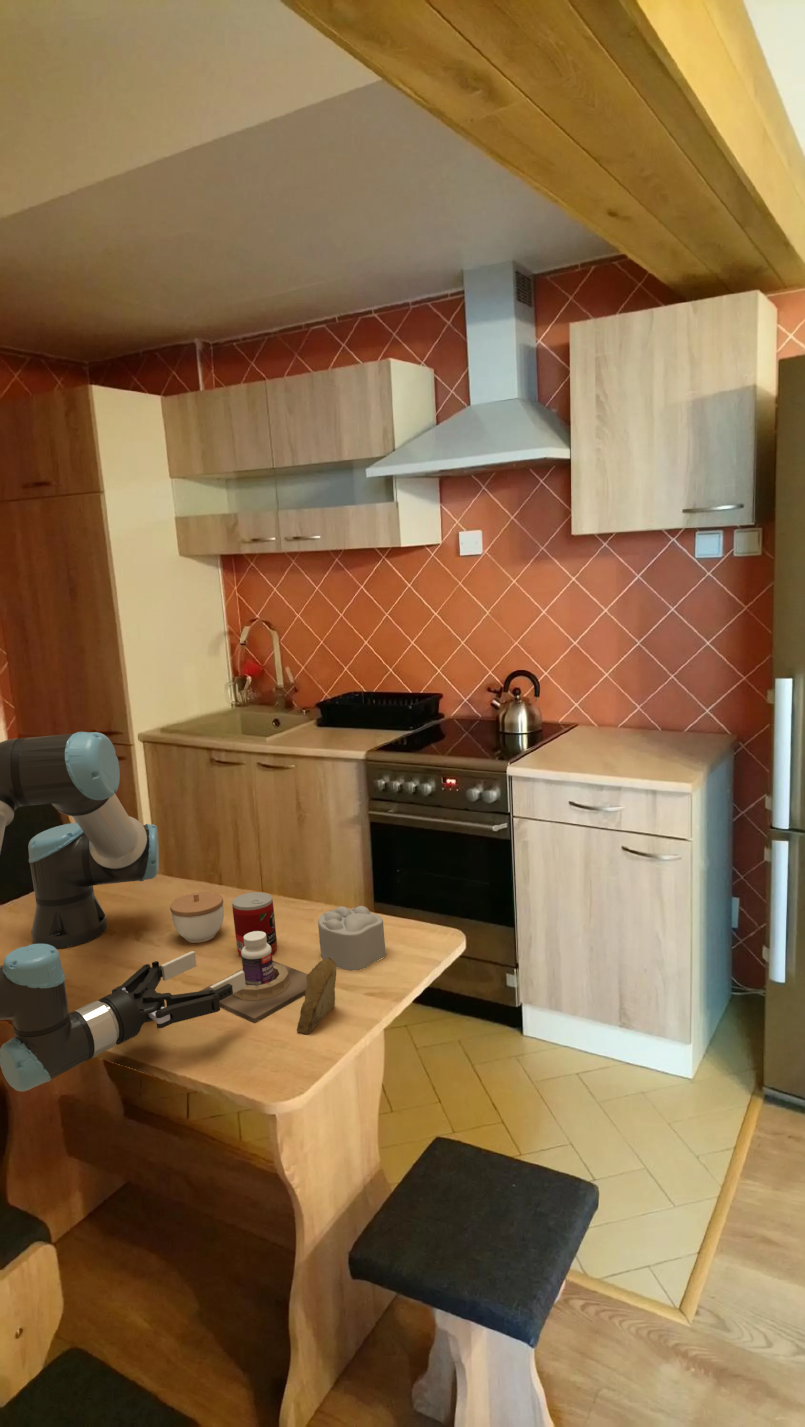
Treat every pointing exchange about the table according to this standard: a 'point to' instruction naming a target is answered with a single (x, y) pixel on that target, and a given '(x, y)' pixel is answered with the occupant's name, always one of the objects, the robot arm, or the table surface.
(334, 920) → the lumpy-topped squat cylinder
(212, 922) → the lidded jar
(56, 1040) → the robot arm
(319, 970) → the rock
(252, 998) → the ring plate
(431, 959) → the table surface
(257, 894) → the canned food
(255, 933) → the pill bottle
